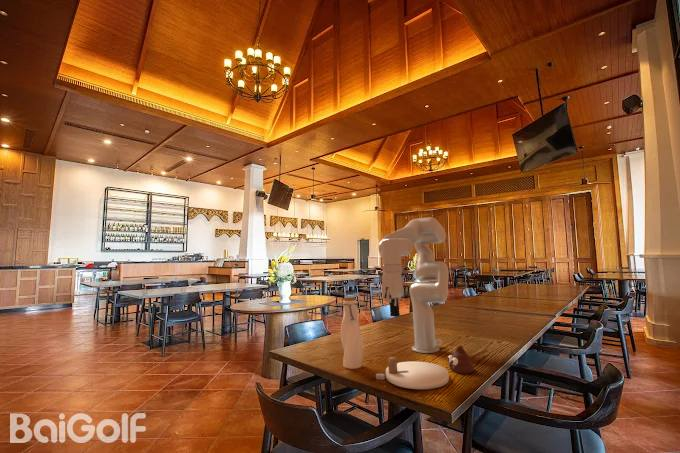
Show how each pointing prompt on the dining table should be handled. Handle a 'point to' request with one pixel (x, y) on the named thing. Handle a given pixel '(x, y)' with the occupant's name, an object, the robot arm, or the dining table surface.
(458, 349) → the poop emoji
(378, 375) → the pointer
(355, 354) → the water bottle
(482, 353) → the dining table surface
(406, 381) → the turntable
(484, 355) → the dining table surface
